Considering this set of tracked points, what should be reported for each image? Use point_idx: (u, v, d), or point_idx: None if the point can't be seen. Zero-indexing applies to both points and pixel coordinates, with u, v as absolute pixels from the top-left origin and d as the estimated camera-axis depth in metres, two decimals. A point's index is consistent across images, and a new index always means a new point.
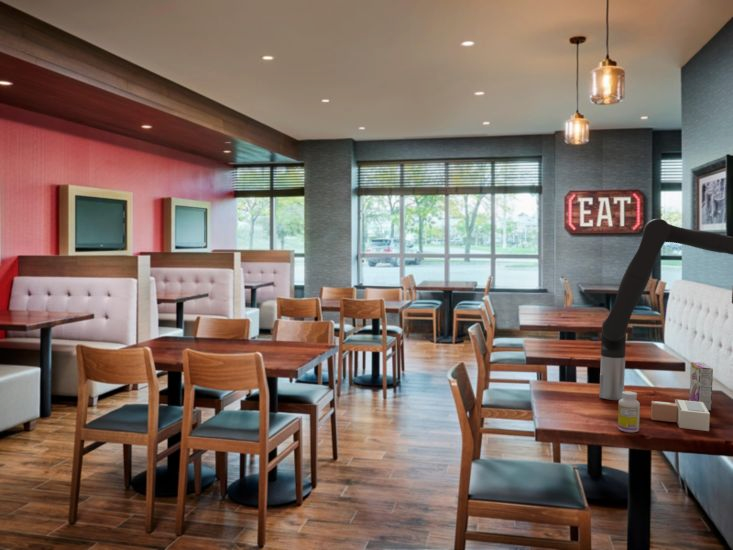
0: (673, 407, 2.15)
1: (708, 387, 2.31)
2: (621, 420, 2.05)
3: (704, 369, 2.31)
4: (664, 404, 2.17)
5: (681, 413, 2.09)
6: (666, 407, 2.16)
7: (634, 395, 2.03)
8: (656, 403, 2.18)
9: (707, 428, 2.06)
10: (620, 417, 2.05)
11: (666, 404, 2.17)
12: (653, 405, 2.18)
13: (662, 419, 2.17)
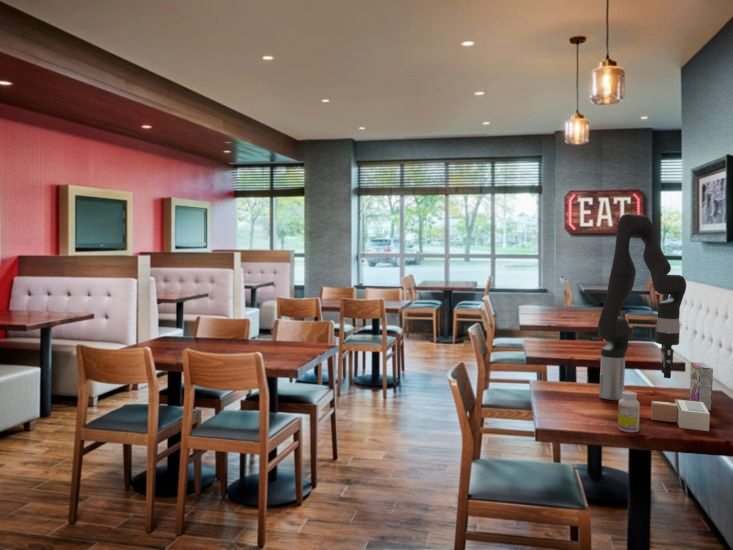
0: (673, 407, 2.15)
1: (708, 387, 2.31)
2: (621, 420, 2.05)
3: (704, 369, 2.31)
4: (664, 404, 2.17)
5: (681, 413, 2.09)
6: (666, 407, 2.16)
7: (634, 395, 2.03)
8: (656, 403, 2.18)
9: (707, 428, 2.06)
10: (620, 417, 2.05)
11: (666, 404, 2.17)
12: (653, 405, 2.18)
13: (662, 419, 2.17)
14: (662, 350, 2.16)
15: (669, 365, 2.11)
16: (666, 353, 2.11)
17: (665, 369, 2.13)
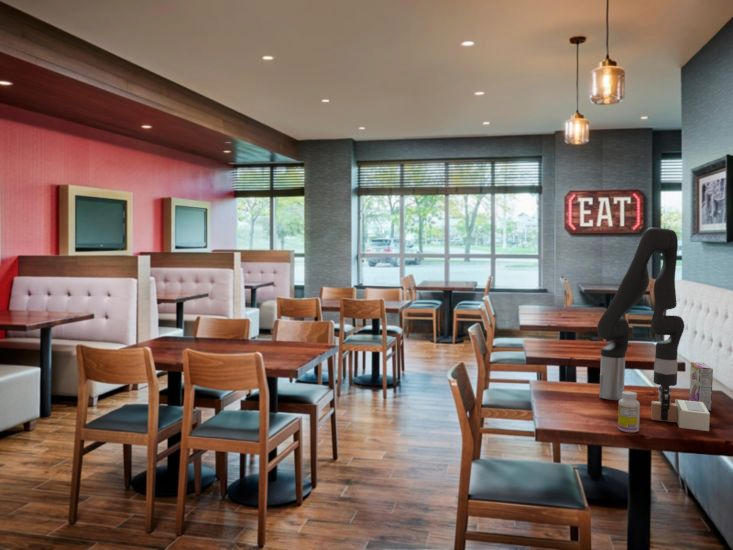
0: (673, 407, 2.15)
1: (708, 387, 2.31)
2: (621, 420, 2.05)
3: (704, 369, 2.31)
4: (664, 404, 2.17)
5: (681, 413, 2.09)
6: None
7: (634, 395, 2.03)
8: (656, 403, 2.18)
9: (707, 428, 2.06)
10: (620, 417, 2.05)
11: (666, 404, 2.17)
12: (653, 405, 2.18)
13: None
14: (660, 391, 2.17)
15: (666, 408, 2.13)
16: (663, 398, 2.12)
17: (662, 411, 2.16)
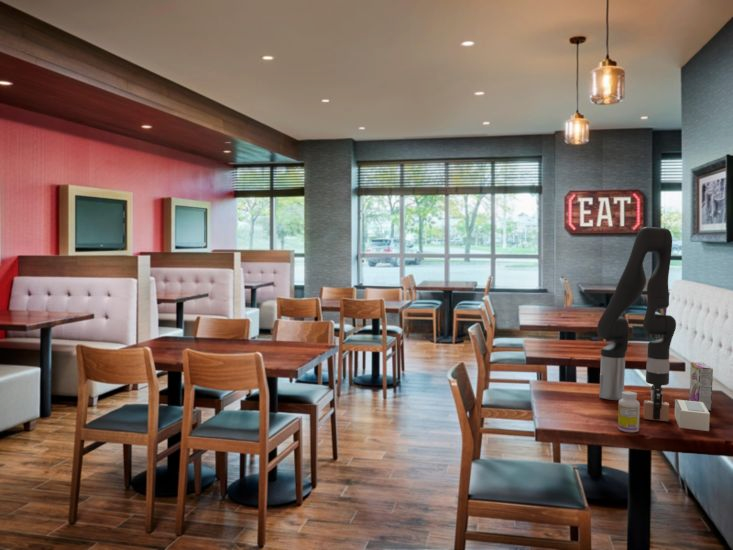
0: (665, 407, 2.16)
1: (708, 387, 2.31)
2: (621, 420, 2.05)
3: (704, 369, 2.31)
4: (656, 403, 2.18)
5: (681, 413, 2.09)
6: None
7: (634, 395, 2.03)
8: (648, 402, 2.19)
9: (707, 428, 2.06)
10: (620, 417, 2.05)
11: (658, 403, 2.18)
12: (645, 404, 2.18)
13: None
14: (652, 390, 2.18)
15: (658, 407, 2.14)
16: (655, 397, 2.13)
17: (654, 410, 2.17)
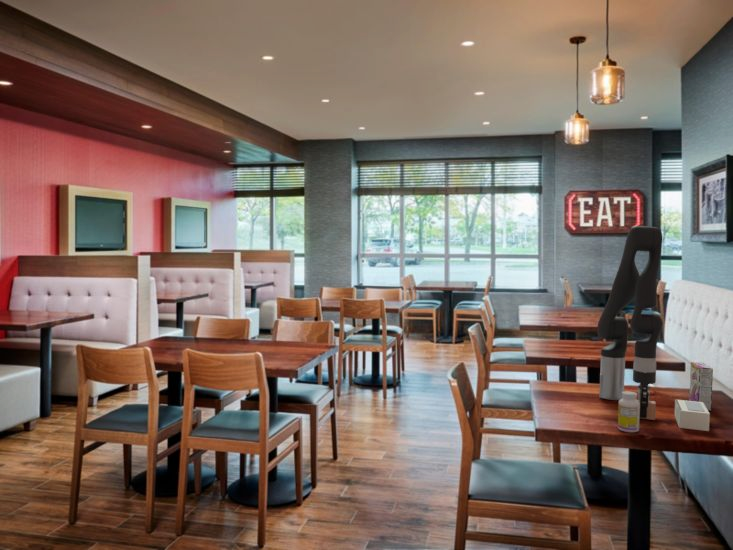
0: (652, 405, 2.18)
1: (708, 387, 2.31)
2: (621, 420, 2.05)
3: (704, 369, 2.31)
4: (643, 402, 2.19)
5: (681, 413, 2.09)
6: None
7: (634, 395, 2.03)
8: None
9: (707, 428, 2.06)
10: (620, 417, 2.05)
11: (645, 402, 2.19)
12: None
13: None
14: (639, 389, 2.19)
15: (644, 405, 2.16)
16: (642, 396, 2.15)
17: (641, 409, 2.18)
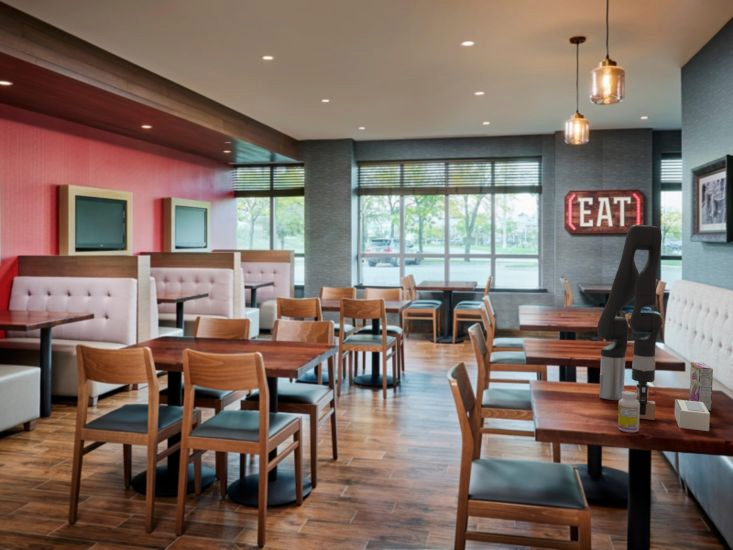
0: (651, 405, 2.18)
1: (708, 387, 2.31)
2: (621, 420, 2.05)
3: (704, 369, 2.31)
4: None
5: (681, 413, 2.09)
6: None
7: (634, 395, 2.03)
8: None
9: (707, 428, 2.06)
10: (620, 417, 2.05)
11: None
12: None
13: (641, 417, 2.19)
14: (638, 387, 2.19)
15: (644, 402, 2.14)
16: (641, 391, 2.14)
17: (640, 406, 2.17)
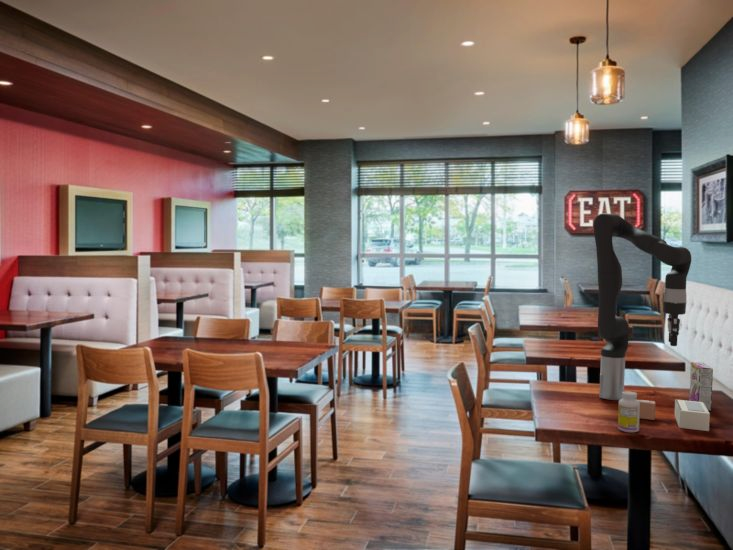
0: (651, 405, 2.18)
1: (708, 387, 2.31)
2: (621, 420, 2.05)
3: (704, 369, 2.31)
4: (643, 402, 2.19)
5: (681, 413, 2.09)
6: (644, 405, 2.19)
7: (634, 395, 2.03)
8: None
9: (707, 428, 2.06)
10: (620, 417, 2.05)
11: (645, 402, 2.19)
12: None
13: (641, 417, 2.19)
14: (669, 319, 2.25)
15: (675, 333, 2.20)
16: (672, 322, 2.20)
17: (671, 337, 2.22)
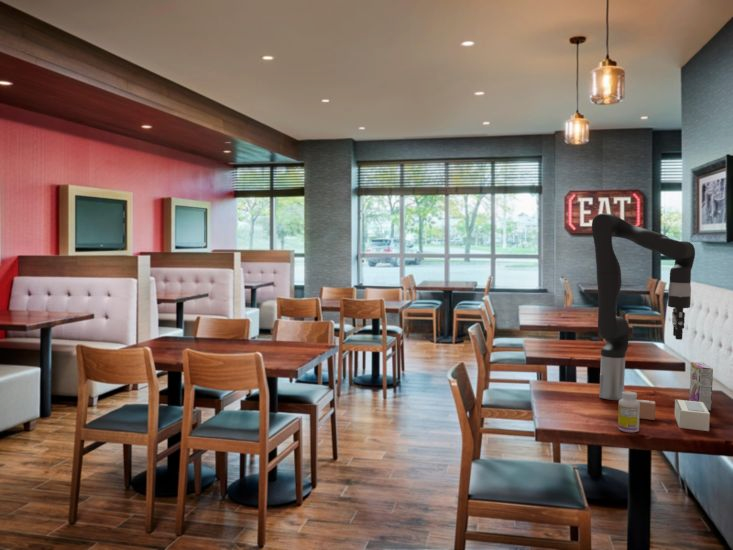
0: (651, 405, 2.18)
1: (708, 387, 2.31)
2: (621, 420, 2.05)
3: (704, 369, 2.31)
4: (643, 402, 2.19)
5: (681, 413, 2.09)
6: (644, 405, 2.19)
7: (634, 395, 2.03)
8: None
9: (707, 428, 2.06)
10: (620, 417, 2.05)
11: (645, 402, 2.19)
12: None
13: (641, 417, 2.19)
14: (674, 313, 2.26)
15: (681, 326, 2.21)
16: (678, 315, 2.21)
17: (677, 331, 2.23)
